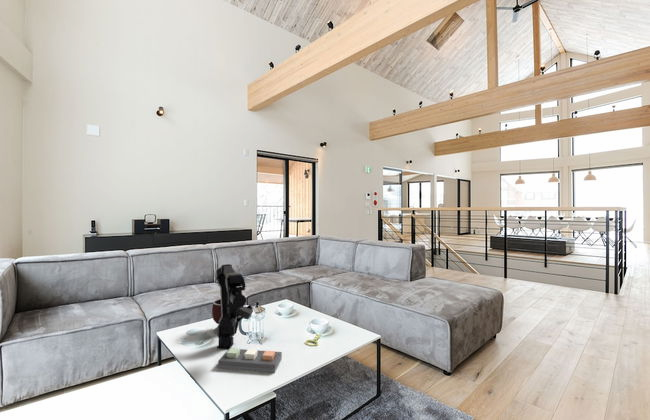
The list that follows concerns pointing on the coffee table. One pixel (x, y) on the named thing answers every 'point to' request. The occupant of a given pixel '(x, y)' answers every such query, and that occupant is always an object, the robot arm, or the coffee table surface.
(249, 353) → the ivory keycap
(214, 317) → the mate gourd
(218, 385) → the coffee table surface
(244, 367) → the grey flat rectangular block
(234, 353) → the sage keycap
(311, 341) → the key
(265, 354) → the terracotta keycap
